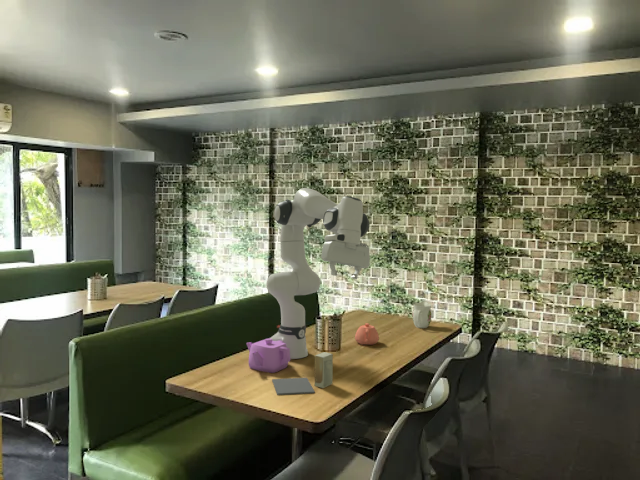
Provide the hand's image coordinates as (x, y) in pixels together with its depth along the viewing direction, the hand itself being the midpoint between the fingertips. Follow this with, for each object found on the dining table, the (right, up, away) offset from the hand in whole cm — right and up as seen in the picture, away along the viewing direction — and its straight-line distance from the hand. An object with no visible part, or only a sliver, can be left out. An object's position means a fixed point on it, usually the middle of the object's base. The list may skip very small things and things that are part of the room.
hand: (344, 277), depth 189 cm
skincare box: (-8, -43, +13) cm, 46 cm away
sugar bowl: (+15, -40, +77) cm, 88 cm away
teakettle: (-32, -41, +34) cm, 62 cm away
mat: (-19, -43, +11) cm, 48 cm away
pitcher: (+50, -38, +116) cm, 132 cm away
